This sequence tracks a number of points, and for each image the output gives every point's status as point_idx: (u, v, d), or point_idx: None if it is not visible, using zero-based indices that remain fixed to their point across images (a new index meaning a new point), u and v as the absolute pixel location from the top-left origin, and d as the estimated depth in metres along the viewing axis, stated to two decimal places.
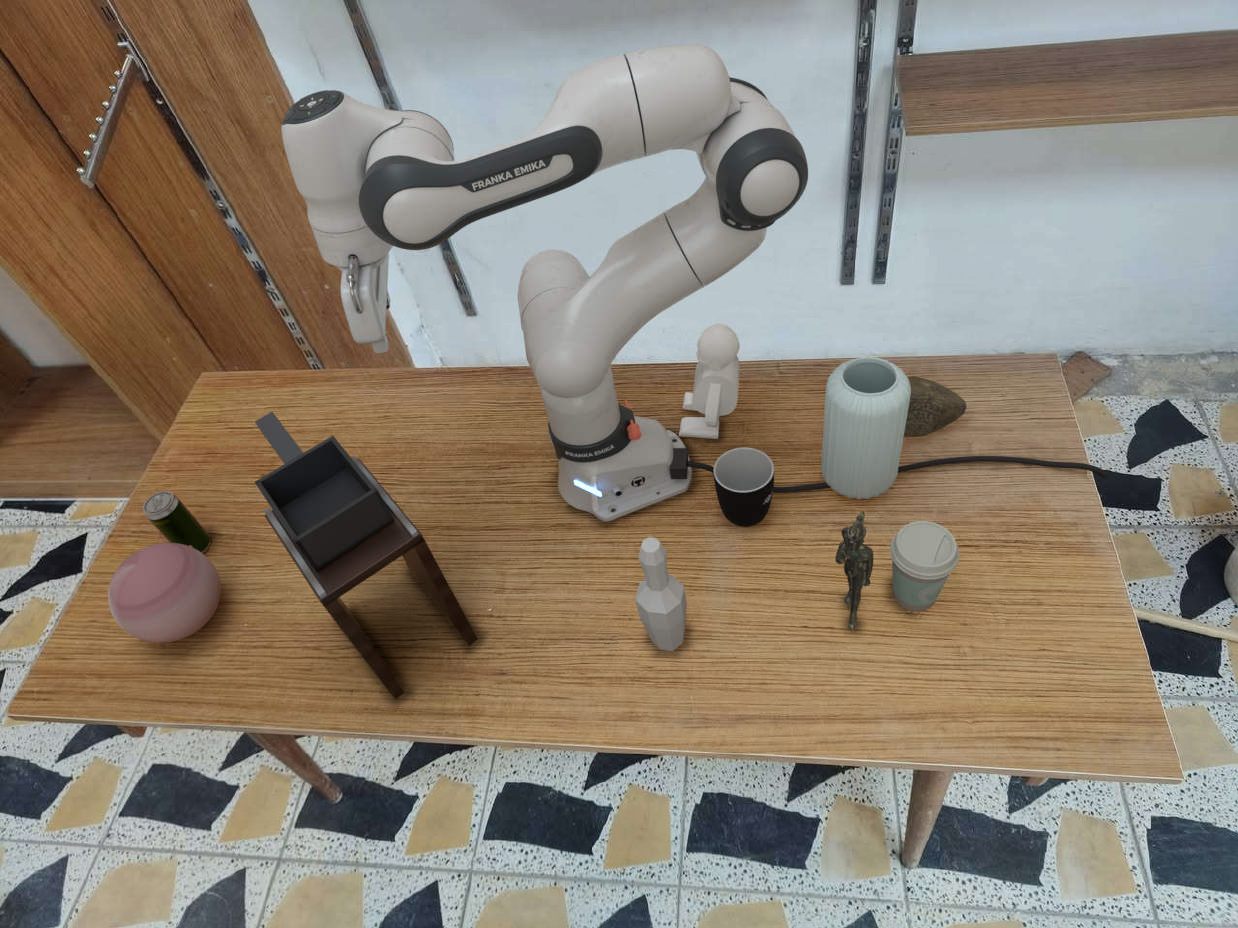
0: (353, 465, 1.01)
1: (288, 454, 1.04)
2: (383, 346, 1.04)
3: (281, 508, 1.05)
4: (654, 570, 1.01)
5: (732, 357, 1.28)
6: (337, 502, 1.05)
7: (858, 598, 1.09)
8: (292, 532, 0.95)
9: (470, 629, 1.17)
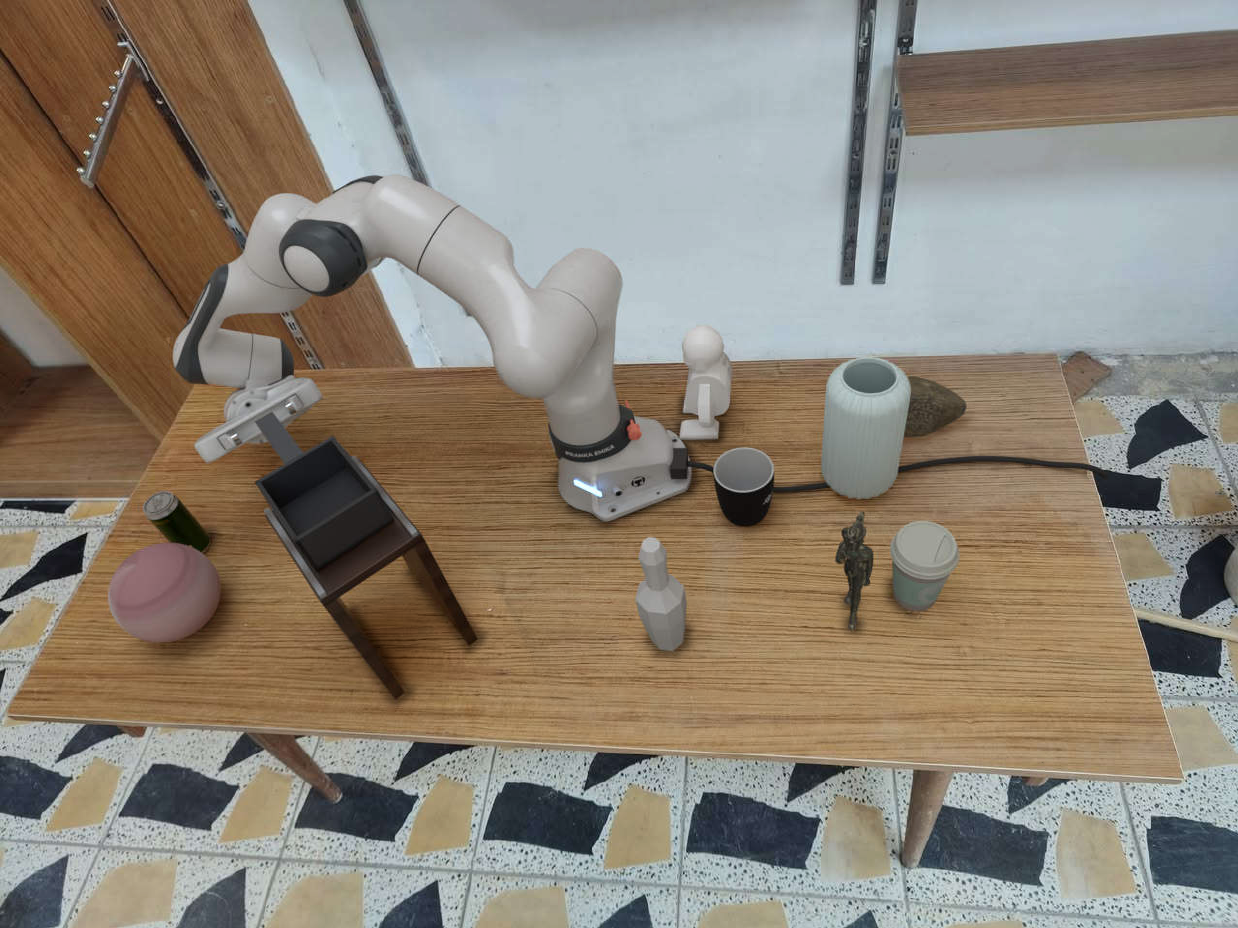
0: (353, 465, 1.01)
1: (288, 454, 1.04)
2: None
3: (281, 508, 1.05)
4: (654, 570, 1.01)
5: (716, 356, 1.29)
6: (337, 502, 1.05)
7: (858, 598, 1.09)
8: (292, 532, 0.95)
9: (470, 629, 1.17)
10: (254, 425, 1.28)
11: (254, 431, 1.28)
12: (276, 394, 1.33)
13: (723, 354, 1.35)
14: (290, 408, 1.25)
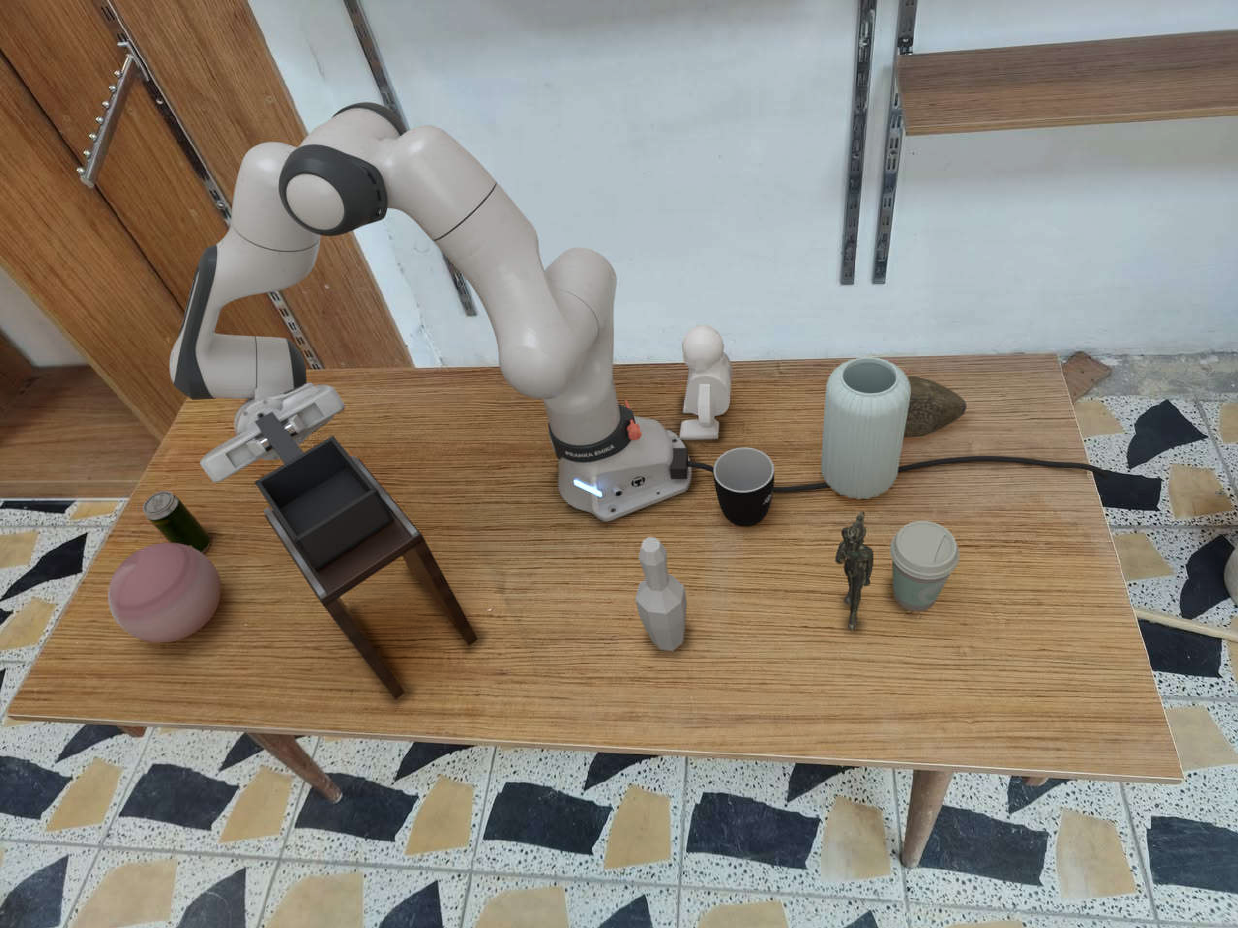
0: (353, 465, 1.01)
1: (288, 454, 1.04)
2: (257, 445, 1.08)
3: (281, 508, 1.05)
4: (654, 570, 1.01)
5: (716, 356, 1.29)
6: (337, 502, 1.05)
7: (858, 598, 1.09)
8: (292, 532, 0.95)
9: (470, 629, 1.17)
10: None
11: None
12: (292, 404, 1.18)
13: (723, 354, 1.35)
14: (290, 430, 1.08)
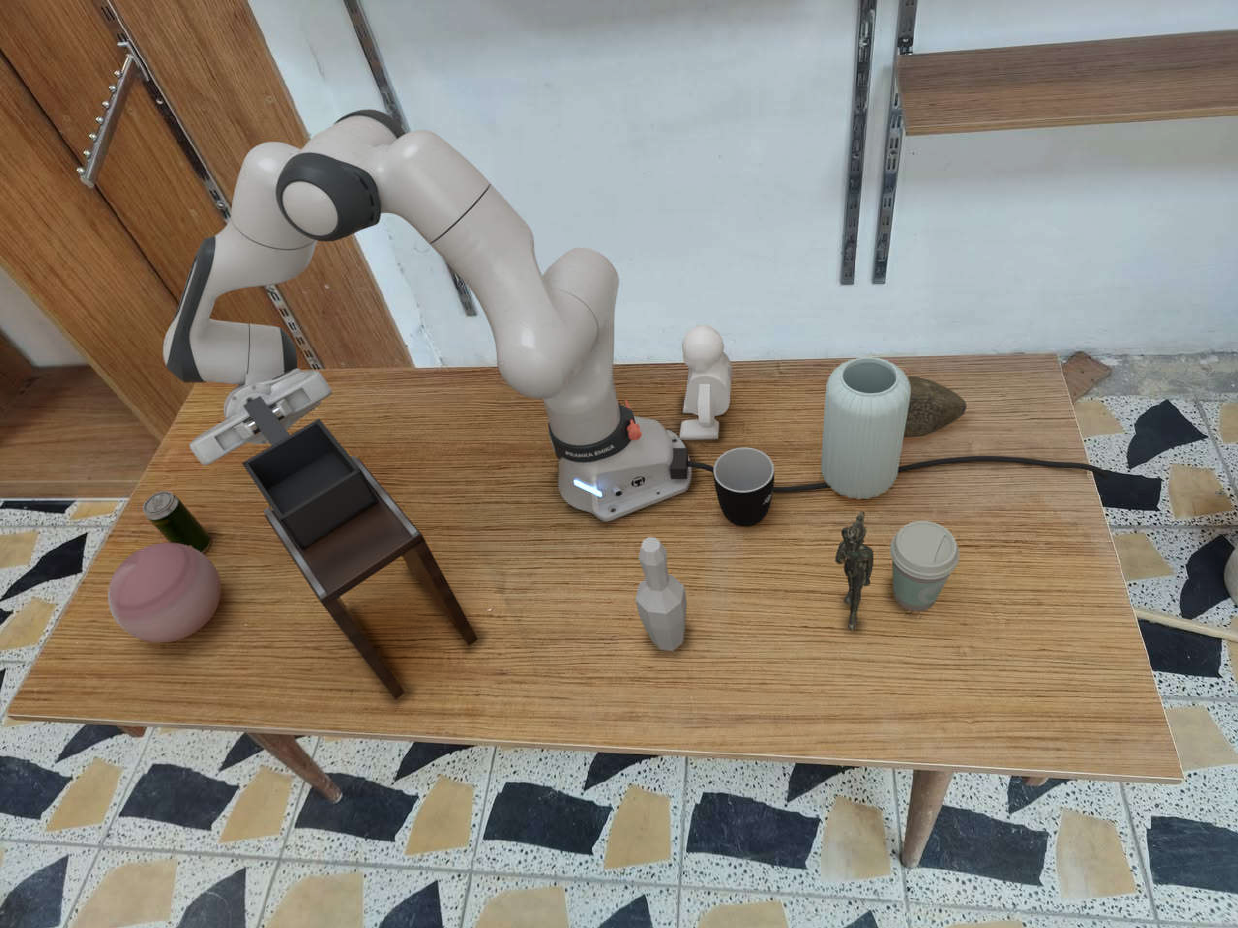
0: (338, 446, 1.04)
1: (274, 436, 1.07)
2: (245, 428, 1.10)
3: (268, 489, 1.08)
4: (654, 570, 1.01)
5: (716, 356, 1.28)
6: (323, 483, 1.07)
7: (858, 598, 1.09)
8: (278, 511, 0.98)
9: (470, 629, 1.17)
10: None
11: None
12: (281, 389, 1.20)
13: (723, 354, 1.35)
14: (277, 414, 1.11)
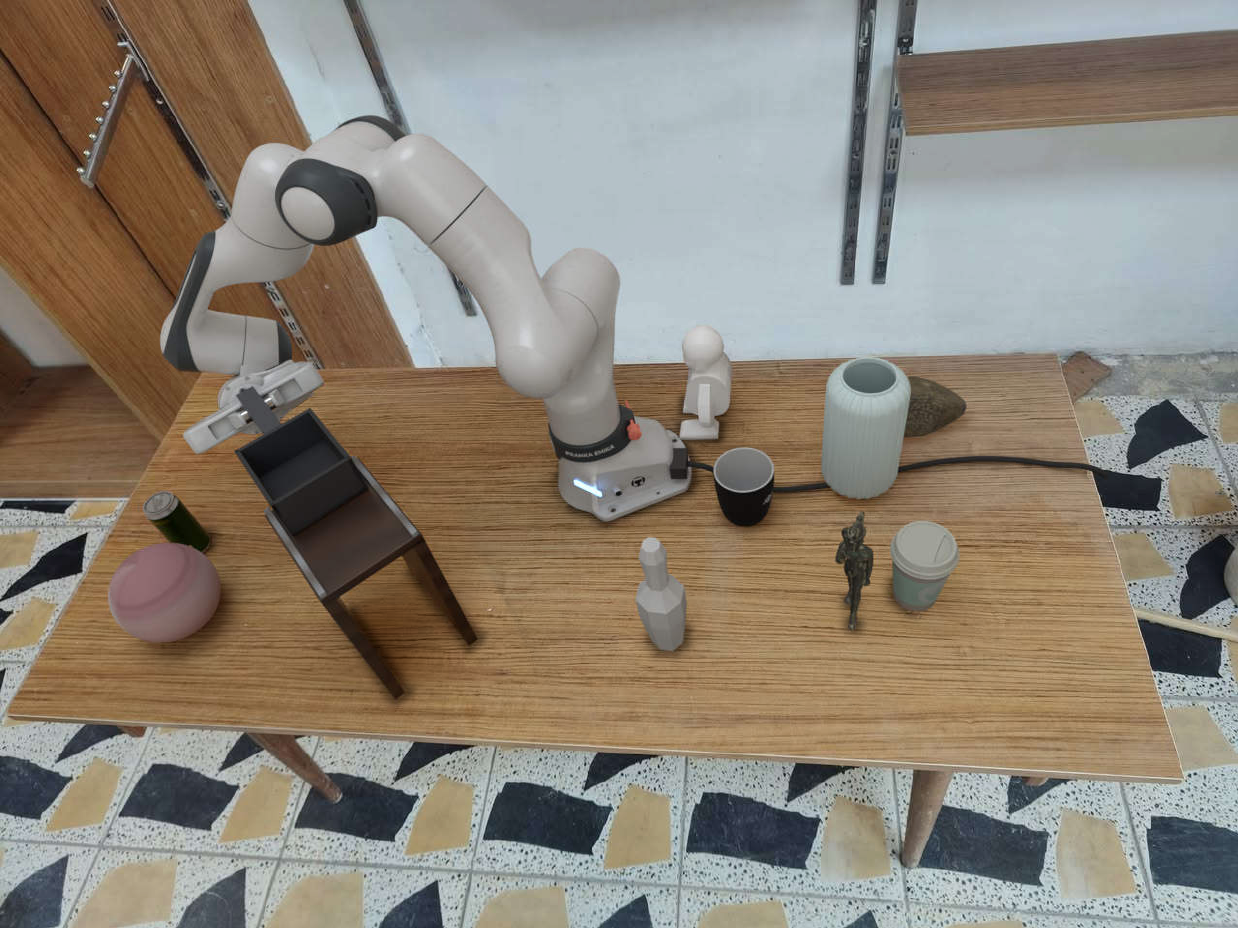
0: (328, 435, 1.05)
1: (266, 425, 1.09)
2: (237, 417, 1.12)
3: (260, 477, 1.10)
4: (654, 570, 1.01)
5: (716, 356, 1.29)
6: (314, 471, 1.09)
7: (858, 598, 1.09)
8: (269, 497, 0.99)
9: (470, 629, 1.17)
10: None
11: None
12: (273, 380, 1.22)
13: (723, 354, 1.35)
14: (270, 403, 1.13)
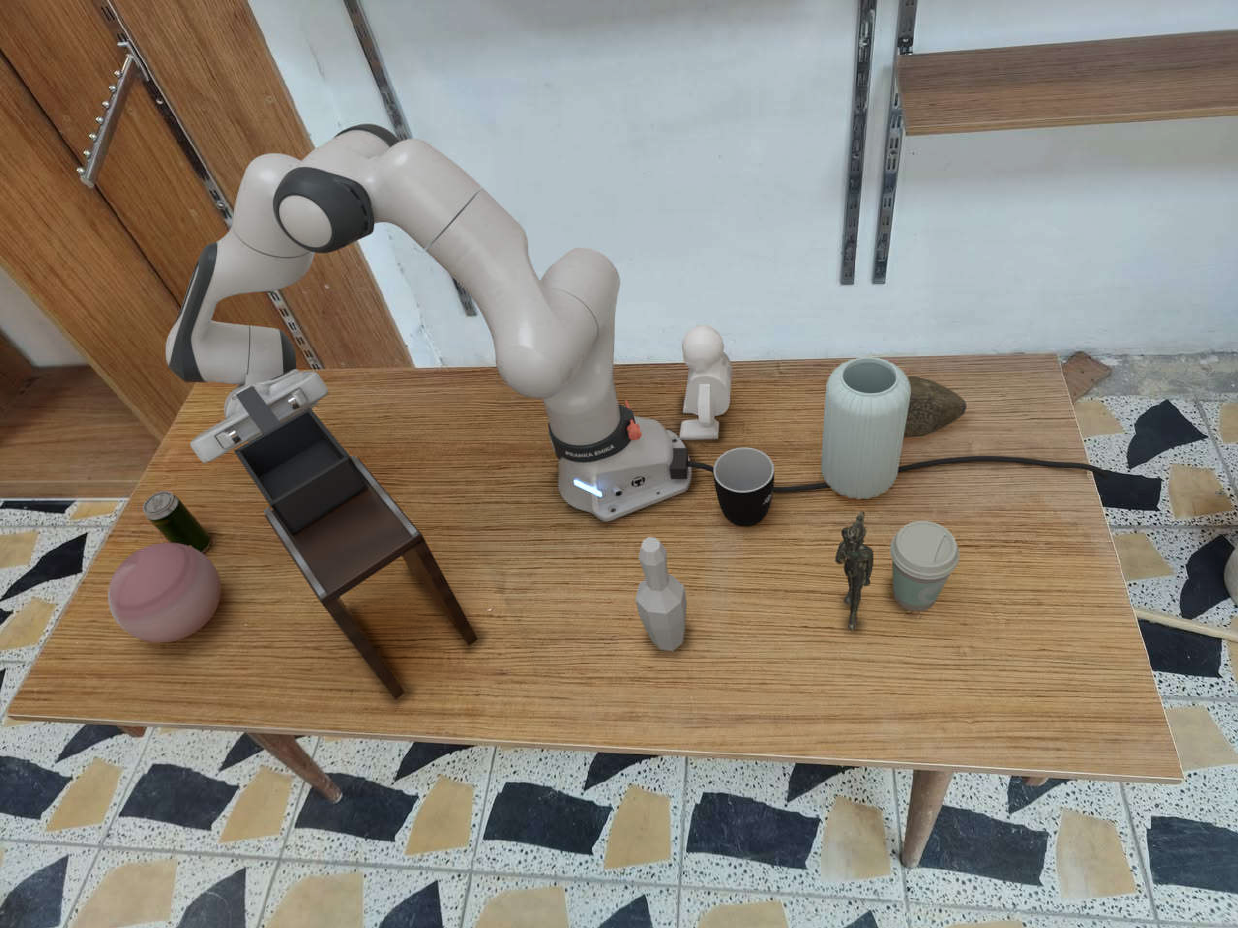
0: (328, 434, 1.06)
1: (266, 425, 1.09)
2: None
3: (260, 477, 1.10)
4: (654, 570, 1.01)
5: (716, 356, 1.29)
6: (313, 471, 1.09)
7: (858, 598, 1.09)
8: (269, 497, 1.00)
9: (470, 629, 1.17)
10: None
11: (255, 429, 1.18)
12: (279, 389, 1.24)
13: (723, 354, 1.35)
14: (293, 403, 1.15)
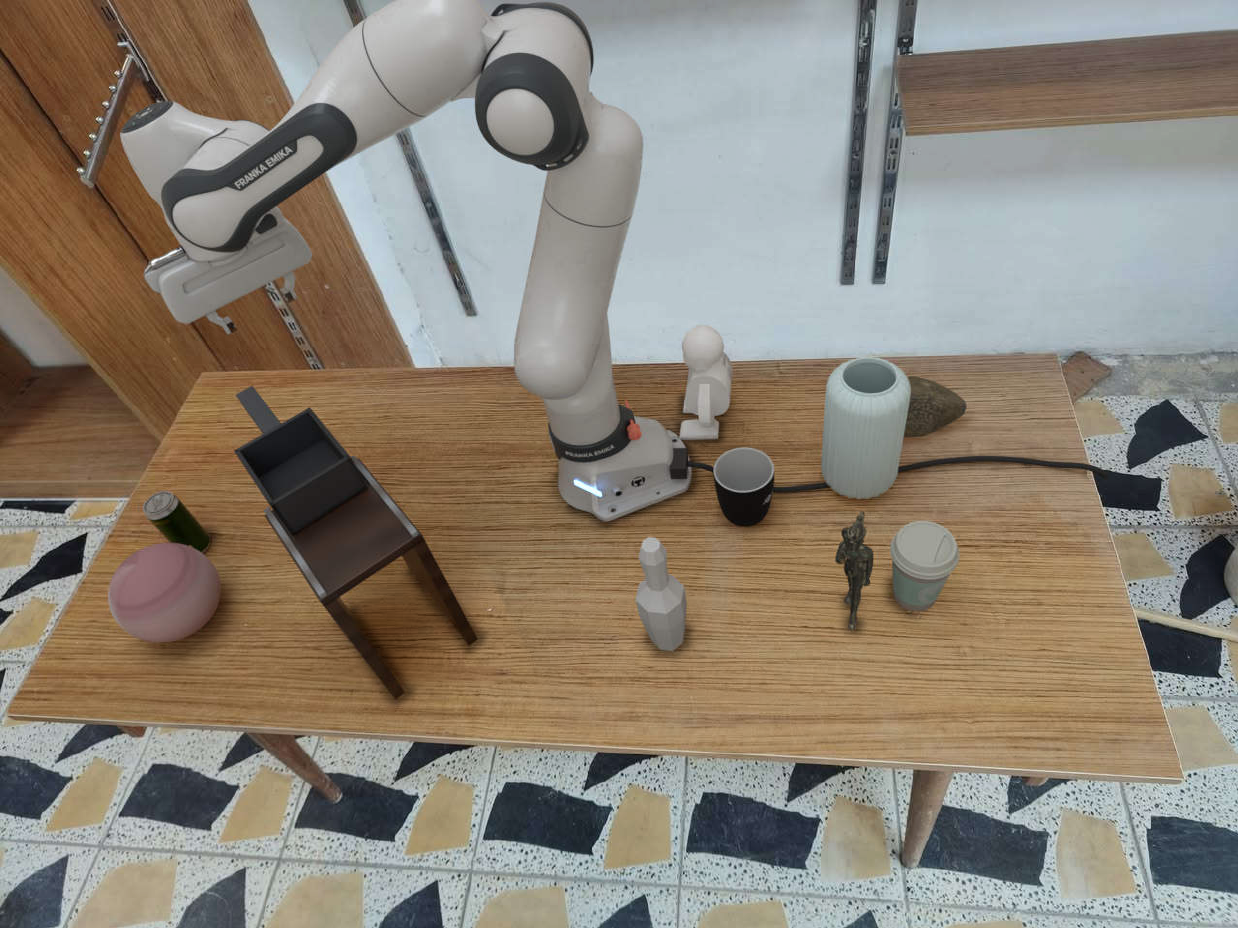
0: (328, 434, 1.06)
1: (266, 425, 1.09)
2: (224, 329, 1.15)
3: (260, 477, 1.10)
4: (654, 570, 1.01)
5: (716, 356, 1.29)
6: (313, 471, 1.09)
7: (858, 598, 1.09)
8: (269, 497, 1.00)
9: (470, 629, 1.17)
10: None
11: None
12: (261, 244, 1.10)
13: (723, 354, 1.35)
14: None
